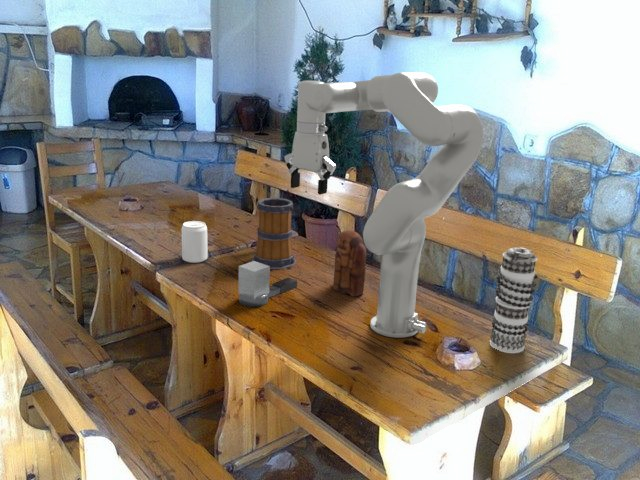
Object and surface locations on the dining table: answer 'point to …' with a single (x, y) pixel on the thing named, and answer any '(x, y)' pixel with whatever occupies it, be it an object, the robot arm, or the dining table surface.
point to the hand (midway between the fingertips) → (308, 190)
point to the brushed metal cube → (254, 279)
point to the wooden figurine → (350, 264)
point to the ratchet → (273, 290)
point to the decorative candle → (513, 300)
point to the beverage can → (194, 241)
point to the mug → (274, 233)
